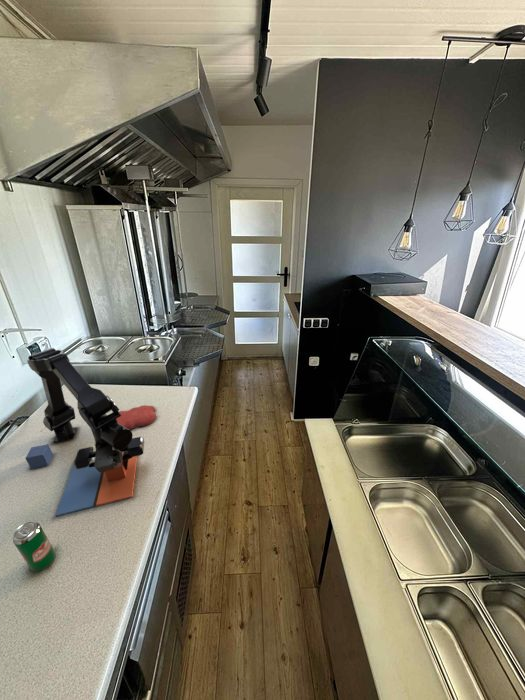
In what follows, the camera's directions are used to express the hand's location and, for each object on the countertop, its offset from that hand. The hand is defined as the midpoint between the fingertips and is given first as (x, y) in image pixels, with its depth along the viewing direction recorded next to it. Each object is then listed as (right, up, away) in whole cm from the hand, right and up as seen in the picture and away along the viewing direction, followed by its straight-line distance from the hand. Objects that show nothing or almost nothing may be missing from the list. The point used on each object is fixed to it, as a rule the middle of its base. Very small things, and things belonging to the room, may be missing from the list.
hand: (117, 471), depth 91 cm
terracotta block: (0, -1, 0) cm, 1 cm away
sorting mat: (-5, -2, -1) cm, 5 cm away
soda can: (-7, -13, -22) cm, 26 cm away
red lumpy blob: (-6, +10, +25) cm, 28 cm away
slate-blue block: (-29, +1, +6) cm, 29 cm away
